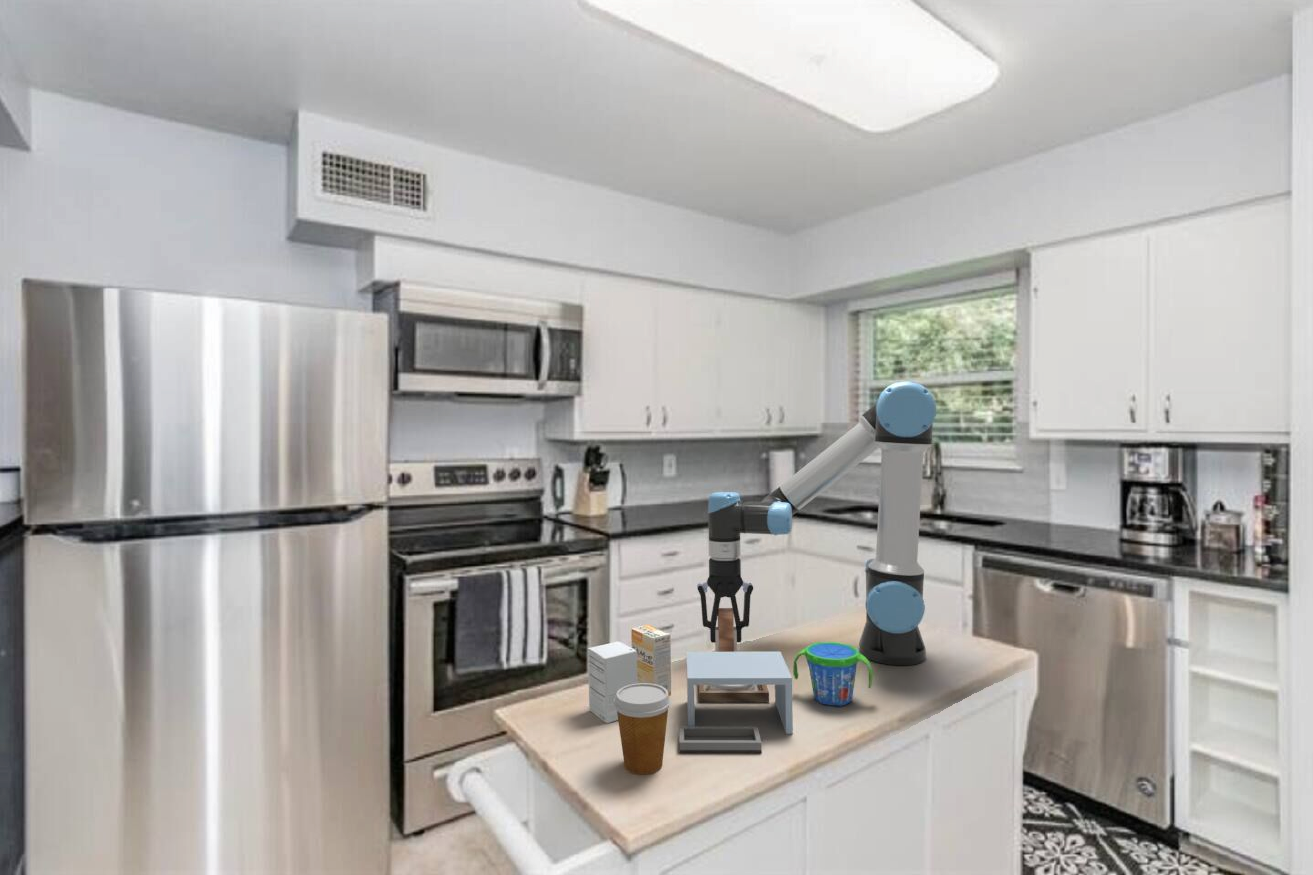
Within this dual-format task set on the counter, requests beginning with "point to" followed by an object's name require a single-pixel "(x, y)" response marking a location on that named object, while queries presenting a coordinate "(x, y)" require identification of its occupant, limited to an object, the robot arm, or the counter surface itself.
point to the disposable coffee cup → (642, 725)
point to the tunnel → (741, 677)
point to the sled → (728, 646)
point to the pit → (720, 740)
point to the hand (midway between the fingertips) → (726, 655)
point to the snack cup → (832, 671)
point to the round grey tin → (731, 688)
